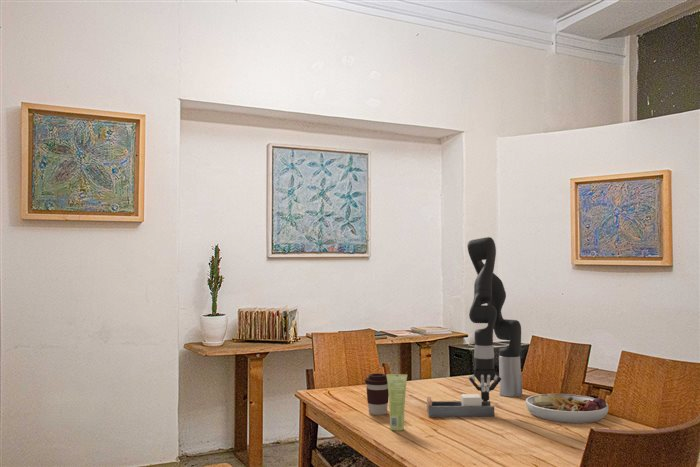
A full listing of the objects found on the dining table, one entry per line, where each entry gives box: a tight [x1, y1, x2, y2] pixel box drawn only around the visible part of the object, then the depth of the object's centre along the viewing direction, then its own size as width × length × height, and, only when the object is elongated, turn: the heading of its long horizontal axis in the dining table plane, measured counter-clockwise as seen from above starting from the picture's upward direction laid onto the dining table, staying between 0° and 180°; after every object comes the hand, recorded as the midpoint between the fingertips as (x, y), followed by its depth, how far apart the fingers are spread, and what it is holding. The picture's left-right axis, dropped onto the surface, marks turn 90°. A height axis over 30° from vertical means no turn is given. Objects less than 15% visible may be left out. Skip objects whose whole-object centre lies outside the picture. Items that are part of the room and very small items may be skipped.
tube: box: [385, 373, 408, 432], centre depth 214 cm, size 6×5×20 cm
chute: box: [426, 396, 496, 418], centre depth 233 cm, size 25×9×6 cm, turn 87°
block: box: [460, 393, 483, 406], centre depth 233 cm, size 7×6×6 cm
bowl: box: [525, 392, 609, 424], centre depth 231 cm, size 30×30×8 cm
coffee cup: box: [364, 372, 389, 416], centre depth 237 cm, size 10×10×15 cm
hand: (485, 401), depth 233 cm, fingers closed
